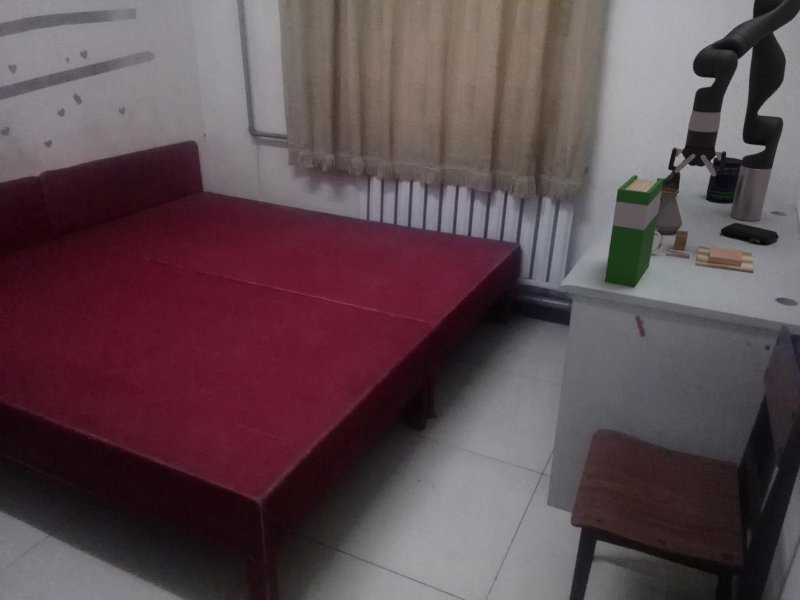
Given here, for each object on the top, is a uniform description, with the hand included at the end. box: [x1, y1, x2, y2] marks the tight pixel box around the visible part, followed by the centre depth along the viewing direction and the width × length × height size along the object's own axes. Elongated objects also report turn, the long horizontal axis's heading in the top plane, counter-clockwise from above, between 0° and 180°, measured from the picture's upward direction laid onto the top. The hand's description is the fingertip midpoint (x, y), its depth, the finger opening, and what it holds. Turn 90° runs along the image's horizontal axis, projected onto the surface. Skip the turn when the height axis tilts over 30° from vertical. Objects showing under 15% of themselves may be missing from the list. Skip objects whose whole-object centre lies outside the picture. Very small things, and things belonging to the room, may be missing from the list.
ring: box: [651, 227, 664, 254], centre depth 185 cm, size 7×3×8 cm, turn 61°
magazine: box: [656, 171, 681, 192], centre depth 235 cm, size 18×3×31 cm
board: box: [695, 245, 755, 274], centre depth 182 cm, size 16×14×1 cm
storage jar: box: [705, 156, 742, 205], centre depth 238 cm, size 10×10×15 cm
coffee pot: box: [656, 188, 683, 235], centre depth 200 cm, size 21×12×15 cm, turn 143°
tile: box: [709, 246, 743, 266], centre depth 180 cm, size 2×8×9 cm
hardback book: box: [604, 174, 665, 289], centre depth 167 cm, size 18×7×24 cm, turn 150°
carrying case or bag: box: [720, 222, 780, 246], centre depth 200 cm, size 11×3×15 cm
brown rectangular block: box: [665, 229, 691, 260], centre depth 187 cm, size 10×6×5 cm, turn 155°
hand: (692, 187), depth 183 cm, fingers open, 8 cm apart
